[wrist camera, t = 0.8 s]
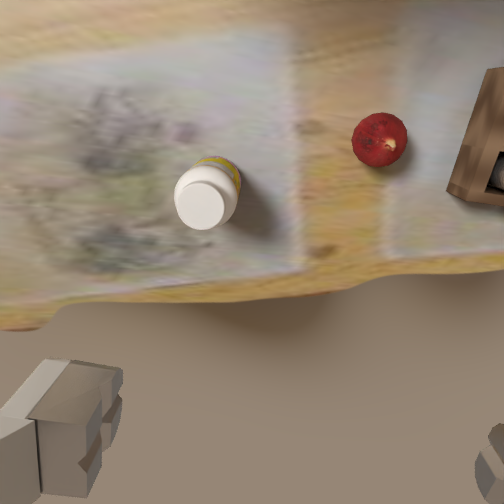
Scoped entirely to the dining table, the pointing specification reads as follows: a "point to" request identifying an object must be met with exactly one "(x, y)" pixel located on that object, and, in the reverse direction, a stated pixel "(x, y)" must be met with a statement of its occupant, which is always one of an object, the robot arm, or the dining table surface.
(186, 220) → the supplement bottle
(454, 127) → the dining table surface
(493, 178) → the pin
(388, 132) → the red round piece
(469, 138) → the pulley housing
